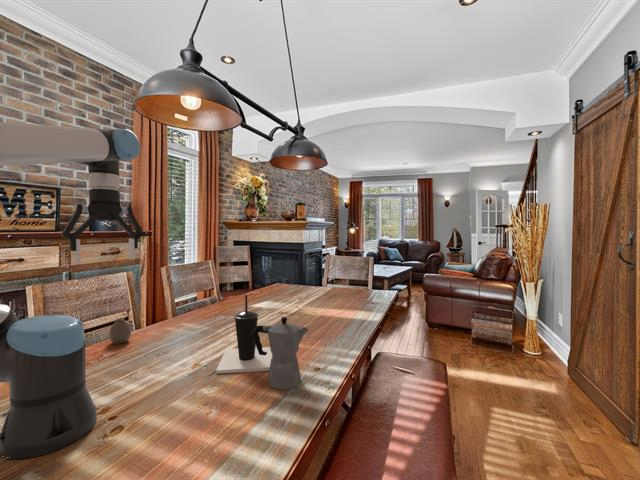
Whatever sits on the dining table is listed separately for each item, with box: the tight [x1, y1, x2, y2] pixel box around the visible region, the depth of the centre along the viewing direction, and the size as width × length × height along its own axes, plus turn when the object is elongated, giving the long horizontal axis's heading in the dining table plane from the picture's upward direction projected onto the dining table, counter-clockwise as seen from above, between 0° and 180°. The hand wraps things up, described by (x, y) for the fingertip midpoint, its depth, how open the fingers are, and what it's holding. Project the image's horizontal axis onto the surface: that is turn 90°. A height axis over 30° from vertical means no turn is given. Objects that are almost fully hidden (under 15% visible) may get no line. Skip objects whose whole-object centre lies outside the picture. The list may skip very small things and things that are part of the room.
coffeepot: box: [252, 316, 309, 391], centre depth 84 cm, size 15×9×18 cm, turn 89°
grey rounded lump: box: [108, 317, 132, 345], centre depth 114 cm, size 7×7×9 cm
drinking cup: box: [233, 294, 259, 361], centre depth 98 cm, size 8×8×20 cm
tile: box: [215, 346, 272, 374], centre depth 98 cm, size 16×16×1 cm
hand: (106, 261), depth 92 cm, fingers open, 13 cm apart
